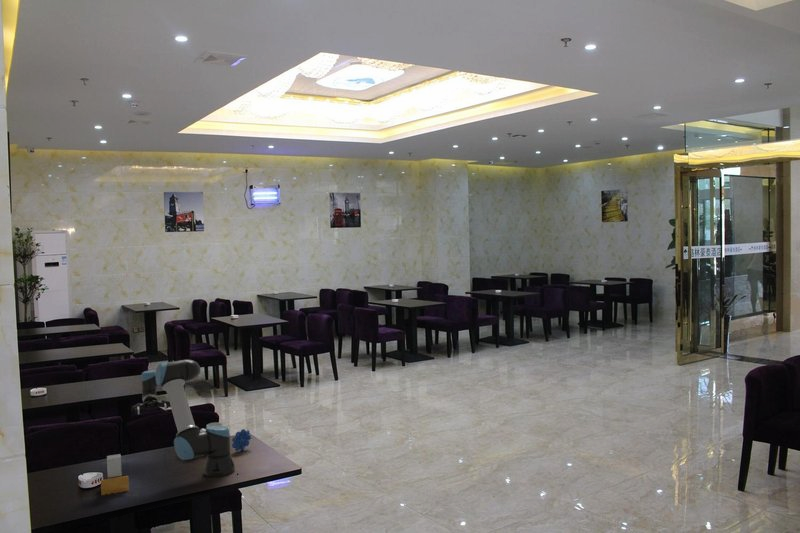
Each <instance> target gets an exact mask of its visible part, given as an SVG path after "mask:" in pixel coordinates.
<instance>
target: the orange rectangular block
mask: <svg viewBox="0 0 800 533" xmlns="http://www.w3.org/2000/svg"><path fill="white" fill-rule="evenodd" d="M129 478H130V477H129V475H124V476H122V477H117V478H111V479H108V478H106V479H100V493H101V496H106V495H105V494H107V495H112V494H111V493H113V494H117V493H118V492H119V493H122V492H124V491H125V492H129V491H130V482H129V481H130V480H129Z"/></svg>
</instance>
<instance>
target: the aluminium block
mask: <svg viewBox="0 0 800 533" xmlns="http://www.w3.org/2000/svg"><path fill="white" fill-rule="evenodd" d="M106 468H107V470H106V471H107V479H111V478H117V477H123V476H122V475H123V474H122V455H121V453H119V454H111V455H107V456H106Z"/></svg>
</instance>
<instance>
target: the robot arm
mask: <svg viewBox="0 0 800 533" xmlns="http://www.w3.org/2000/svg"><path fill="white" fill-rule="evenodd" d="M200 374H201V366H200V365H199V363H198V362H197V361H195V360H193V359H180V360H174V361H165V362H162V363H161V362H160V363H159V364H158V365H157V366H156V369H155V370H146V371H142V372H141V392H142V393H141V394H142V397H141V399H142V403H140V402H137V403H136V404H134V405H133V406H131V412H132V413H135V414H137V415H140V414H141V413H140V411H142V410H148V411H151V410H154V409H156V408H157V409H158V408H164V410H165V411H166V412H167V411H168V408H171V413H172V416H173V420H174V423H175V426H176V429H177V433H176V434H175V438H174V440H173V445H174V447H173V448H174V450H175V451H174V452H175V453H176V455H177V457H178V458H179V459H180V460H183V461H186V460H192V459H196V458H199V457H204V456H206V461H205V464H204V468H203V474H204V475H205V476H206V477H213V478H217V477H223V476H229V475H230V474H232V473H234V472H235V470H236V468H235V462H234V461H233V458H232V456H231V434H230V428H228V427H227V426H223V425H222V426H209V427H207V426H206V427H205V428H204V429H205V430H206V431H204V432H200V430H201V428H199V426H197V425H196V424H195V421H194V417H193V414H192V411H191V408H190V405H189V401H188V398H187V395H186V391H185V388H184V387H185V384H186V382H190V381H192V380H195V379H196V378H198V377H199V375H200ZM157 387H161V388H162V390H163V391H164V392H166V396H167V398H168V401H167V400H164V399H162V400H160V401H159V400H158V396H157Z"/></svg>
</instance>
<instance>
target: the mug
mask: <svg viewBox="0 0 800 533" xmlns="http://www.w3.org/2000/svg"><path fill="white" fill-rule="evenodd" d="M209 426H223V423H221V422H210V423H207V424H206V427H209Z"/></svg>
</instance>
